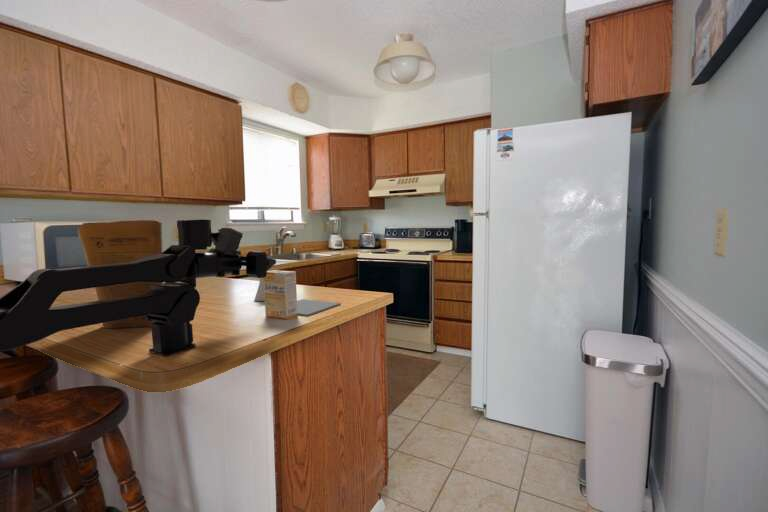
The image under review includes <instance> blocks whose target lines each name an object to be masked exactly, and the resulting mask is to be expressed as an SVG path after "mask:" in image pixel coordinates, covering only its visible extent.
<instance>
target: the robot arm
mask: <svg viewBox="0 0 768 512" xmlns="http://www.w3.org/2000/svg"><path fill="white" fill-rule="evenodd" d="M176 228H177V232H178V233H177V235H178V237H177V238H178V244H171V245H169V247H167V248H166V249H164V251H163V250H162V253H161V254H155V255H151V256H147V257H143V258H140V259H137V260H134V261H131V262H126V263H116V264H105V265H95V266H88V265H85V266H74V267H66V268H64V267H63V268H56V269H55V268H54V269H52V268H41V269H36V270H35V271H33V272H31V273H30V275H29V276H27V278H25V279H24V280H23V281H22V282H21V283H19V284H18V285H17V286H15V287H14V288H12V289H11V290H10V291H8V292H7V293H5V294H3V295H2V296H1V297H0V352H8V351H9V352H10V351H13V350H15V349H17V348H21V347H24V346H27V345H30V344H33V343H36V342H39V341H41V340H44V339H45V338H48V337H51V336H52V335H55V334H56V333H59V332H61V331H67V330H72V329H77V328H83V327H88V326H94V325H99V324H103V323H105V322H110V321H116V320H121V319H126V318H131V317H137V316H142V315H145V316H146V318H147V320H148V321H153V322H155V323H152V324H151V327H150V329H151V337H152V338H151V339H152V348H149V349H148V351H149V353H152V354H156V355H159V356H163V357H169V356H173V355H175V354H178V353H181V352H184V351H187V350H190V349H193V348H195V347H197V343H193V342H194V333H193V324H192V323H191V322H193V321H194V319H195V317H196V312H197V308H198V306H199V304H200V302H201V295H200V293H199V291H198V289H197V288H196V287H197V279H203V278H212V277H216V278H217V277H218V278H224V277H226V276H228V275H231V276H240V270H242V267H245V274H246V275H247V276H248V277H249V278H253V279H254V278H256V279H260V278H264V277H266V275H267V271H270V270H271V269H272V267H273V266H275V265H276V264H277V260H276V259H277V258H276V259H275V258H270V257H268V254H267V252H266V251H258V250H257V251H254V250H252V251H251V250H250V251H248V253H246V255H242V250H240V249H239V247H240V244H241V240H242V239H243V232H240V231H238V230H236V229H235V228H232V227H222V228H219V229H217V231H212V220H211V219H186V220H184V219H181V220H179V219H178V220H177V221H176ZM212 245H213V246H215V247H212ZM210 247H212V248H210ZM208 248H210V249H209V251H205V252H204V251H203V250H208ZM238 249H239V250H238ZM196 251H203V252H196ZM138 281H141V282H163V284H150V285H149V286H150V290H151V291H149V292H147V293H144V294H141V295H135V296H128V297H121V298H114V299H106V300H99V301H98V300H93V301H87V302H85V301H84V302H80V303H73V304H66V305H65V304H63V305H59V306H53V304H54V303H55V301H56V299H57V298H58V297H60V295H62V293H65V292H72V291H78V290H86V289H93V288H94V289H95V287H102V286H109V285H116V284H123V283H130V282H138Z"/></svg>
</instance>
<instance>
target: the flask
mask: <svg viewBox="0 0 768 512" xmlns="http://www.w3.org/2000/svg"><path fill="white" fill-rule="evenodd" d="M254 301H255V302H265V292H264V278H259V283H258V287H257V291H256V293H255V296H254Z"/></svg>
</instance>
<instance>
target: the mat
mask: <svg viewBox="0 0 768 512" xmlns="http://www.w3.org/2000/svg"><path fill="white" fill-rule="evenodd" d="M341 304H342V303H341V302H333V301H324V300H316V299H315V300H314V299H306V298H305V299H304V298H303V299H297V316H303V317H309V316H312V315H315V314H318V313H321V312H323V311H327V310H329V309H333V308H334V307H337V306H341Z"/></svg>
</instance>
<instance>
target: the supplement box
mask: <svg viewBox="0 0 768 512" xmlns="http://www.w3.org/2000/svg"><path fill="white" fill-rule="evenodd" d="M296 273H297V271H295V270H294V271H292V270H278V269H272V270H271V269H270V270H268V271H267V275H266V277H264V292H265V301H264V308H265V309H264V310H265V317H267V318H268V317H269V318H275V319H283V320H290V319H292V318H295V317H297V316H298V315H297V301H298V299H297V298H298V295H297V294H298V293H297V292H298V291H297V274H296Z"/></svg>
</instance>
